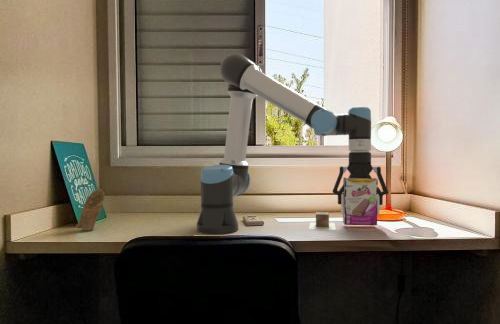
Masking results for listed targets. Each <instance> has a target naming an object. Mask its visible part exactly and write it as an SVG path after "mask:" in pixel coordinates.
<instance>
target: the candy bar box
mask: <svg viewBox="0 0 500 324" xmlns="http://www.w3.org/2000/svg"><path fill="white" fill-rule="evenodd" d="M348 177H349V176H348ZM348 177H342V178H343V181H342V182H343V184H344V192H343V193H342V195H343V196H344V214H342V223H343V224H344V225H345V226H346V225H372V226H378V215H377V195H378V193H377V190H378V188H379V186H378V185H379V184H378V183H379V179H378V177H371V179H369V178H348ZM343 184H342V185H343ZM377 187H378V188H377Z"/></svg>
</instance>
